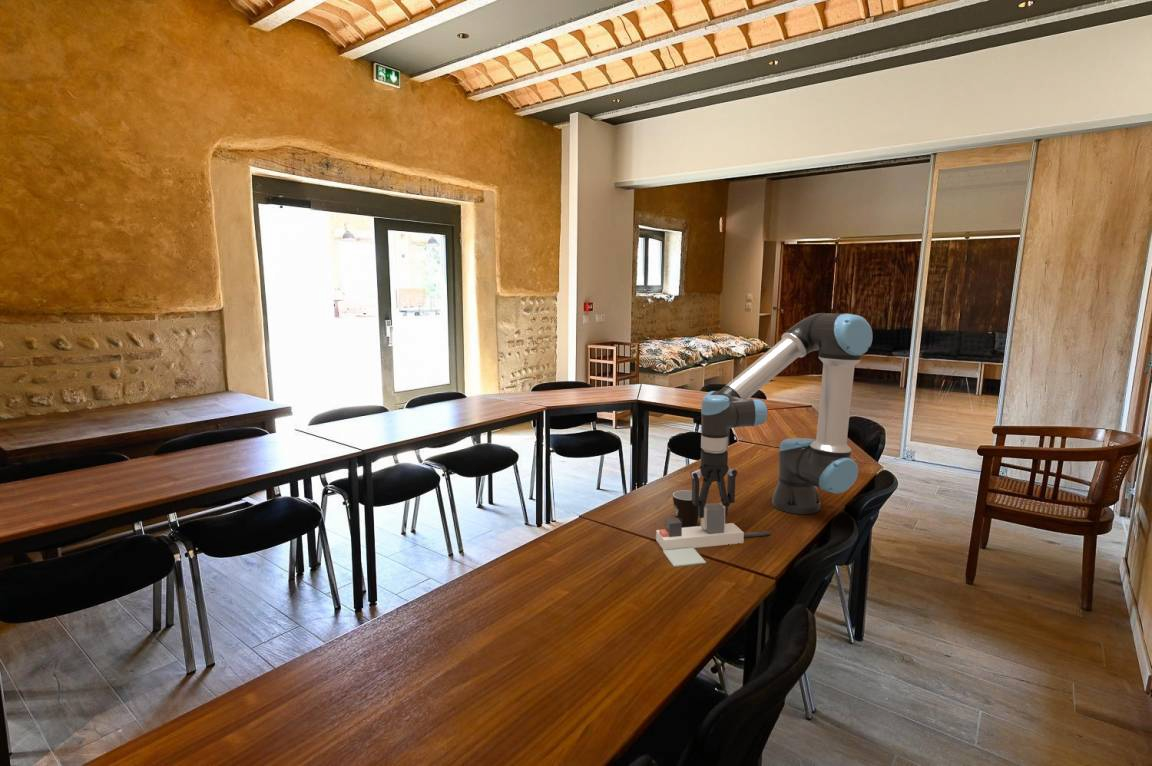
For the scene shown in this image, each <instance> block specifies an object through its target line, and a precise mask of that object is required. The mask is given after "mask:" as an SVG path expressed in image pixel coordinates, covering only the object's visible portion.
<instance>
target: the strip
mask: <svg viewBox="0 0 1152 766" xmlns="http://www.w3.org/2000/svg"><path fill="white" fill-rule="evenodd" d="M664 525H665V528H663V529H656V530H655V531H656V534H655V540H656V543H658V545H659V547H661V549H662V551H664V550H674V549H684V548H694V549H697V548H698V549H699V548H707V547H717V546H725V545H726V546H727V545H728V544H729V545H737V544H738V543H739V544H744V543H745V542H744V540H745V539H744V538H753V537H762V536H770V535H771V531H770V530H763V531H755V532H754V531H753V532H744V531H742V529H740V527H738V526H737V525H736V524H735V523H734V522H730V523H725V528H724V533H716V534H707V533H706V531H705V530H704V529H703V528H702V527H701V525H699V526H698V525H697V526H696V527H685V528H682V522H681V521H680V520H679V519H678V518H675V517H672V518H671V517H670V518H665V524H664ZM739 544H738V545H739Z"/></svg>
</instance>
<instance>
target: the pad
mask: <svg viewBox="0 0 1152 766" xmlns="http://www.w3.org/2000/svg"><path fill="white" fill-rule="evenodd" d="M662 553H663V554H664V556H665V557H666V559H668V561H669V562H670V564H671V565H672V567H674V568H677V567H679V568H680V567H685V566H686V567H689V566H696V565H705V564H707V562H706V560H705V559H704V558H703V557H702V555H700V554H699V552H698V551H697V549H696V548H684V549H674V550H662Z"/></svg>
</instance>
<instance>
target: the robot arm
mask: <svg viewBox="0 0 1152 766" xmlns="http://www.w3.org/2000/svg"><path fill="white" fill-rule="evenodd" d="M872 342H873V330H872V327H871V325H870V324H869V322H868V321H867V319H866V318H864V317H863V316H861V315H857V314H851V313H831V312H830V313H828V312H827V313H826V312H820V313H814V314H812V315H809V316H806V317H805V318H803V319H801V320H800V321H799V322H797V323H795V324H794V325H793V326H792V327H790V328H788V330H786V331H784V333H783V334H782V335H781V339H780V340H779V341H778V342H776V344H775V345H773V346H772V347H771V348H770V349H768V350H767V351H766V352H764V354H762V355H761V356H760V357H759V358H758V359H756V360H755V361H754V362H753V363H751V364H750V365H749V366H747V367H746V368H745V369H744V370H743V371H742V372H741V373H739V374H738V375H737V376H736V377H734V378H733V379H732V380H731V381H730V382H728V383H727V384H726V385H725V386H724V387H722V388H721V389H720V390H711V391H708V392H707V393H706V394H705V395H704V397H702V400H701V410H700V413H701V420H700V421H701V422H700V424H701V425H700V426H701V427H700V428H701V434H700V437H701V438H700V448H701V450H700V466H699V468H698V470H695V471H694V470H691V471H690V473H689V474H690V476H691V480H692V481H691V491H692V503H693V504H694V505H695V506H698V518H700V526H701V527H702V528H703V529H704V530H707V507H706V506H705V504H707V499H708V496H709V493H710V492H709V491H710V488H711V486H712V484H713V483H714V482H716V484H717V488H718V493H719V497H720V501H721V502H718V504H719V505H721V506H722V507H723V508H724V528H725V524H726V517H727V516H728V514H729V507H730V506H731V504H734V503H735V502H736V477H737V475H738V471H737V470H736V469H735V468H733V467H731V468H730V467H729V465H728V462H729V460H728V459H729V452H728V449H729V433H730V432H729V429H732V428H744V427H755V426H759V425H763V424H764V423H765V422H766V421H767V419H768V408H767V405H766V403H765V402H764V401H763V400H762V399H754V398H753V399H752V398H751V397H752V396H753V395H755V394H756V393H757V392H758V391H759V390H761V389H762V388H763V387H764V386H766V385H767V384H768V383H769V382H770V381H772V380H773V379H774V377H776V376H778V374H780V373H781V372H782V371H784V370H785V369H786V368H787V367H788V366H789V365H790V364H792V363H794V361H795V360H796V359H798V358H803V357H806V355H808V354H809V353H811V352H815V351H818V359H819V360H820V361H821V362H822V373H821V374H822V375H821V386H820V395H819V408H818V415H817V416H818V417H817V426H816V436H815V437H816V438H808V437H807V438H806V437H793V438H792V437H791V438H786V439H784V440H782V441H781V442H780V444H779V451H778V455H779V456H778V482H777V485H776V487H775V489H774V492H773V495H772V498H771V499H772V500H771V504H772V507H774V508H775V509H777V510H780V511H782V512H784V513H790V514H797V515H811V514H816V513H817V512H819V511H820V510H821V500H820V497H819V493H818V490H817V488H819V489H821V490H822V491H825V492H829V493H832V494H842V493H844V492H846V491H848V490H849V489H850V488H851V487H852V486H853V485H854V484H855V483H856V480H857V479H858V475H859V467H858V464H857V462H856V461H855V460H854V459H852V458H851V457H852V448H851V447H850V446H849V445H848V432H849V422H850V413H851V403H852V394H853V383H854V375H855V374H854V373H855V366H856V365H857V364H858V363H860V362H861V361H862V355H863V354H865V353H866V352H868V350H869V348H870V347H871V346H872ZM750 398H751V399H750ZM726 475H727V485H726V481H725V476H726ZM701 476H702V485H701V488H700V478H701ZM726 486H727V489H726ZM699 494H700V496H699Z"/></svg>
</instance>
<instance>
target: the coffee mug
mask: <svg viewBox="0 0 1152 766" xmlns="http://www.w3.org/2000/svg"><path fill="white" fill-rule="evenodd" d="M699 496H700V493H699ZM672 499H673V500H672V501H673V509H674V518H678V519H679V520H680V521H681V522H682V528H685V527H696V526H698V522H699V521H698V520H699V516H698V506H695V505H694V504H693V503H692V490H688V489H687V490H684V489H683V490H677V491H674V492H672Z"/></svg>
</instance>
